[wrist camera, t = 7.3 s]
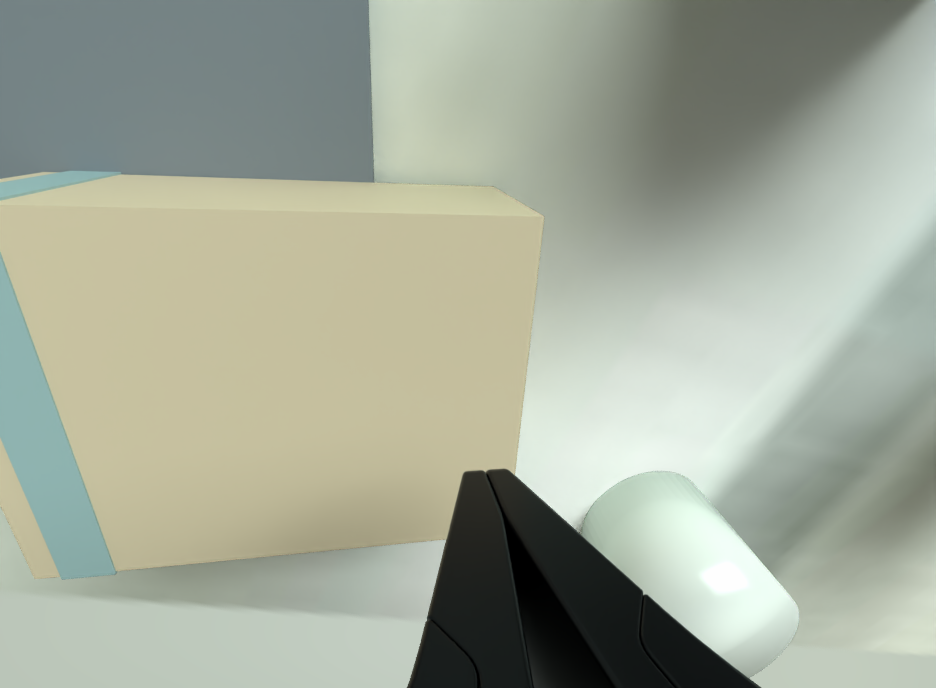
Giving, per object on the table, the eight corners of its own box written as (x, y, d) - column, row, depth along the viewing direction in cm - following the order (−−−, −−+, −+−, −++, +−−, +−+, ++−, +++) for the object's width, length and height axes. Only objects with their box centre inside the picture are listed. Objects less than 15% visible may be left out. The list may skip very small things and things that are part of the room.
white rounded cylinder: (715, 466, 22) (823, 578, 17) (684, 560, 24) (769, 684, 19) (592, 475, 21) (664, 597, 16) (572, 572, 23) (629, 706, 18)
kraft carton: (545, 214, 10) (-146, 198, 8) (508, 535, 14) (33, 582, 12) (493, 184, 15) (44, 169, 12) (476, 432, 18) (130, 453, 16)
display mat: (366, -48, 12) (366, -55, 12) (382, 461, 19) (382, 470, 18) (-274, -120, 10) (-305, -131, 9) (1, 485, 17) (-9, 495, 16)
